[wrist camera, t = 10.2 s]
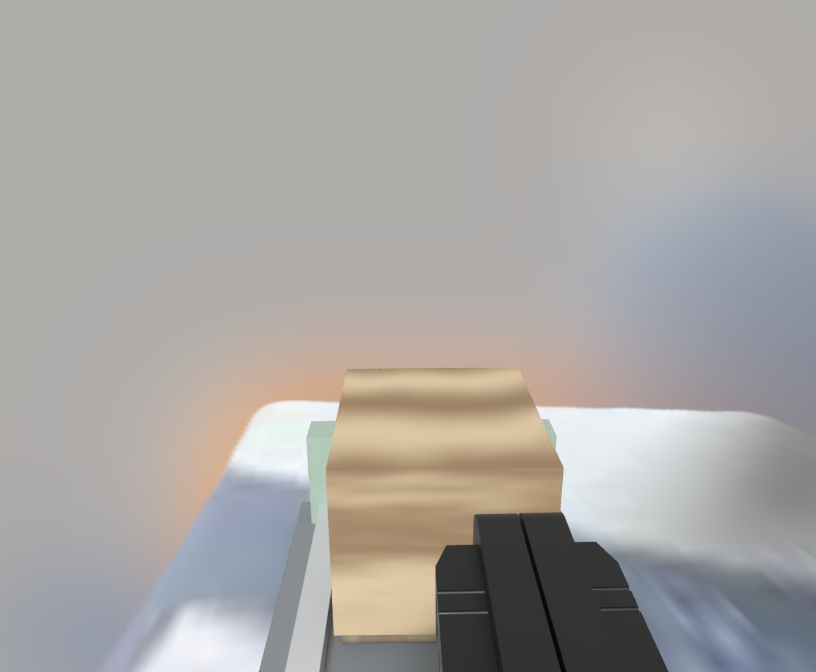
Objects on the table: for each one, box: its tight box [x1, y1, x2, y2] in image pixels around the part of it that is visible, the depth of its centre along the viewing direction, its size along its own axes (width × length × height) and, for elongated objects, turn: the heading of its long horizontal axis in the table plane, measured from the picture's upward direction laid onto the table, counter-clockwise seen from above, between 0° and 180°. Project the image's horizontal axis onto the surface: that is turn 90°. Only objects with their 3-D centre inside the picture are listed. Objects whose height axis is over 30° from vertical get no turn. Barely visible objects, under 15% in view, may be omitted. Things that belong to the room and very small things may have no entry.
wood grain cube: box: [326, 368, 564, 643], centre depth 36 cm, size 12×10×11 cm
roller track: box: [259, 420, 561, 672], centre depth 32 cm, size 30×18×8 cm, turn 1°
